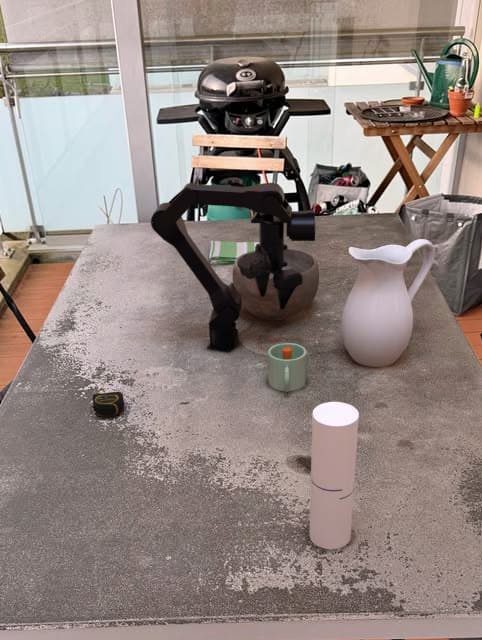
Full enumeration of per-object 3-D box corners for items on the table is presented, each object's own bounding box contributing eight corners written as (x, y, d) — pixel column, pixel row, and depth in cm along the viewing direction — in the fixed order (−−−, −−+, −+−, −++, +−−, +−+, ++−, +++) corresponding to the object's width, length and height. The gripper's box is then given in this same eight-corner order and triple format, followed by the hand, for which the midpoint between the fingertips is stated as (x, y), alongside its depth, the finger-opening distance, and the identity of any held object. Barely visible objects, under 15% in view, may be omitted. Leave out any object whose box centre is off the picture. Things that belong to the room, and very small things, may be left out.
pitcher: (365, 379, 172) (374, 265, 157) (326, 351, 185) (331, 242, 169) (445, 355, 181) (461, 245, 165) (403, 330, 194) (414, 225, 178)
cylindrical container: (306, 523, 131) (309, 403, 116) (346, 520, 131) (353, 400, 117) (312, 550, 125) (316, 427, 110) (354, 547, 125) (363, 424, 111)
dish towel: (281, 263, 236) (281, 255, 234) (209, 265, 236) (208, 257, 235) (279, 244, 251) (279, 236, 249) (210, 246, 251) (210, 239, 249)
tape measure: (124, 402, 167) (122, 388, 165) (125, 418, 161) (123, 403, 159) (93, 405, 166) (91, 391, 164) (94, 421, 160) (91, 407, 158)
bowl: (218, 323, 200) (215, 270, 192) (251, 290, 218) (250, 241, 210) (302, 336, 192) (303, 281, 184) (329, 300, 211) (331, 249, 202)
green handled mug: (268, 372, 176) (268, 342, 172) (305, 373, 176) (306, 342, 171) (267, 398, 167) (266, 367, 162) (306, 398, 166) (306, 367, 162)
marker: (281, 381, 172) (281, 350, 167) (284, 377, 173) (284, 346, 169) (289, 382, 171) (289, 351, 167) (292, 378, 173) (292, 347, 168)
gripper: (222, 236, 176) (225, 297, 185) (262, 259, 162) (263, 323, 171) (262, 227, 180) (263, 287, 189) (304, 249, 167) (303, 312, 176)
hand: (272, 302), depth 181 cm, fingers open, 9 cm apart
